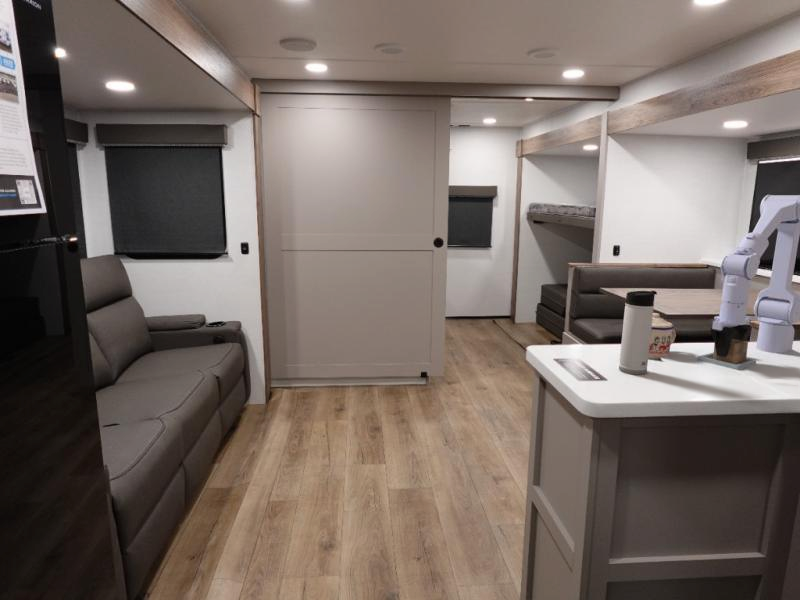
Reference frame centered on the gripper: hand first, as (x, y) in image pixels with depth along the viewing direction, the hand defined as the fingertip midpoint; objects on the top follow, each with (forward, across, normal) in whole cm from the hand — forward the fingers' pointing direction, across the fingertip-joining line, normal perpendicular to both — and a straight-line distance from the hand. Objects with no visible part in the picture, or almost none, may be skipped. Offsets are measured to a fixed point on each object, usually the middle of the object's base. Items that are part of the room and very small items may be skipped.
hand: (727, 354), depth 138 cm
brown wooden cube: (+1, 0, +1) cm, 1 cm away
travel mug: (+3, +26, -9) cm, 28 cm away
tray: (+3, 0, 0) cm, 3 cm away
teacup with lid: (+3, +7, -15) cm, 17 cm away
